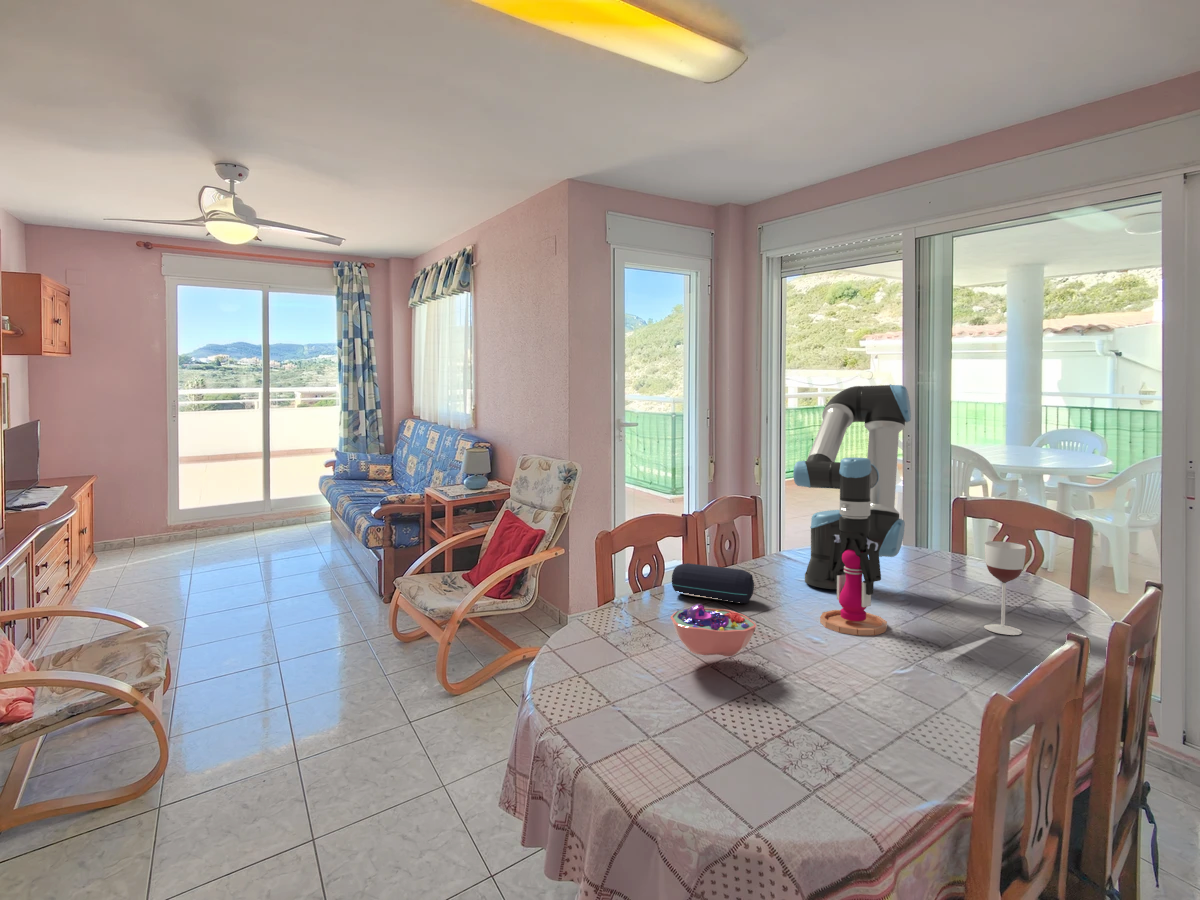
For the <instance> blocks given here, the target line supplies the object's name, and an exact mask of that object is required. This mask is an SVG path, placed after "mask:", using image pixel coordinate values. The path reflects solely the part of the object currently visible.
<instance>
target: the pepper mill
mask: <svg viewBox="0 0 1200 900" xmlns="http://www.w3.org/2000/svg"><path fill="white" fill-rule="evenodd" d="M861 553H863V552H861ZM842 561H843V563H844V564H845V566H844V572H845V574H846V581H845V585H844V587H843V589H842V591H841V593H840V596H839V600H838V603H839V605H840V606H841V607H842V608H841V609H840V610H841V617H842V618H844V619H846V620H850V621H864V620H865V619H866V611H865V610H866V609H867V607H862V582H863V573H862V569H861V566H860V557H859V556H857V555H856V553H855V551H854V550H851V549H847V550H846V551H844V553H843V554H842Z"/></svg>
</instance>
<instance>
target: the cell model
mask: <svg viewBox="0 0 1200 900" xmlns="http://www.w3.org/2000/svg"><path fill="white" fill-rule="evenodd" d="M670 619H671V622H672V624H673V628H674V631H675V634H676V636H677V638H678V639H679V641H680V642H681V643H682V644H683V645H684V647H685V648H686V649H687V650H688V651H690V652H691V653H692V654H695V655H697V656H698V655H699V656H715V655H717V656H718V655H719V656H722V657H726V658H727V657H728V658H729V657H733V656H735V655H737V654H739V653H740V652H741V651H742V650H744V649H745V648H746V647H747V646H748V644H750V642H751V639H752V637H753V636H754V632H755V630H756V628H757V624H756V623H755V622H754V621H753V620H751V618H750V617H748V616H747V615H745V614H743V613H739V612H736V611H734V610H730V609H727V608H726V609H725V608H709V607H708V608H705V605H703V604H702V603H695V604H694V605H692V606H690V607H689V608H685V609H684V608H683V609H679V610H676V611H675V612H673V613H672V614H671V616H670Z"/></svg>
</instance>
